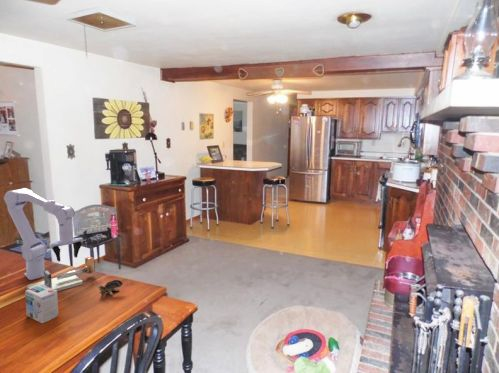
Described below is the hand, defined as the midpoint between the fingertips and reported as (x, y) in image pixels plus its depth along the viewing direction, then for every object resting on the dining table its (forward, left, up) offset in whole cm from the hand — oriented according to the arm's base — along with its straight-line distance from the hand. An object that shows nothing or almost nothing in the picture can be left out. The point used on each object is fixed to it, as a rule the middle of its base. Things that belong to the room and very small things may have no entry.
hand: (67, 258), depth 164 cm
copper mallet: (+4, +2, -8) cm, 9 cm away
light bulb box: (+28, -19, -11) cm, 35 cm away
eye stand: (+4, -7, -10) cm, 13 cm away
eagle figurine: (+28, +8, -11) cm, 31 cm away
